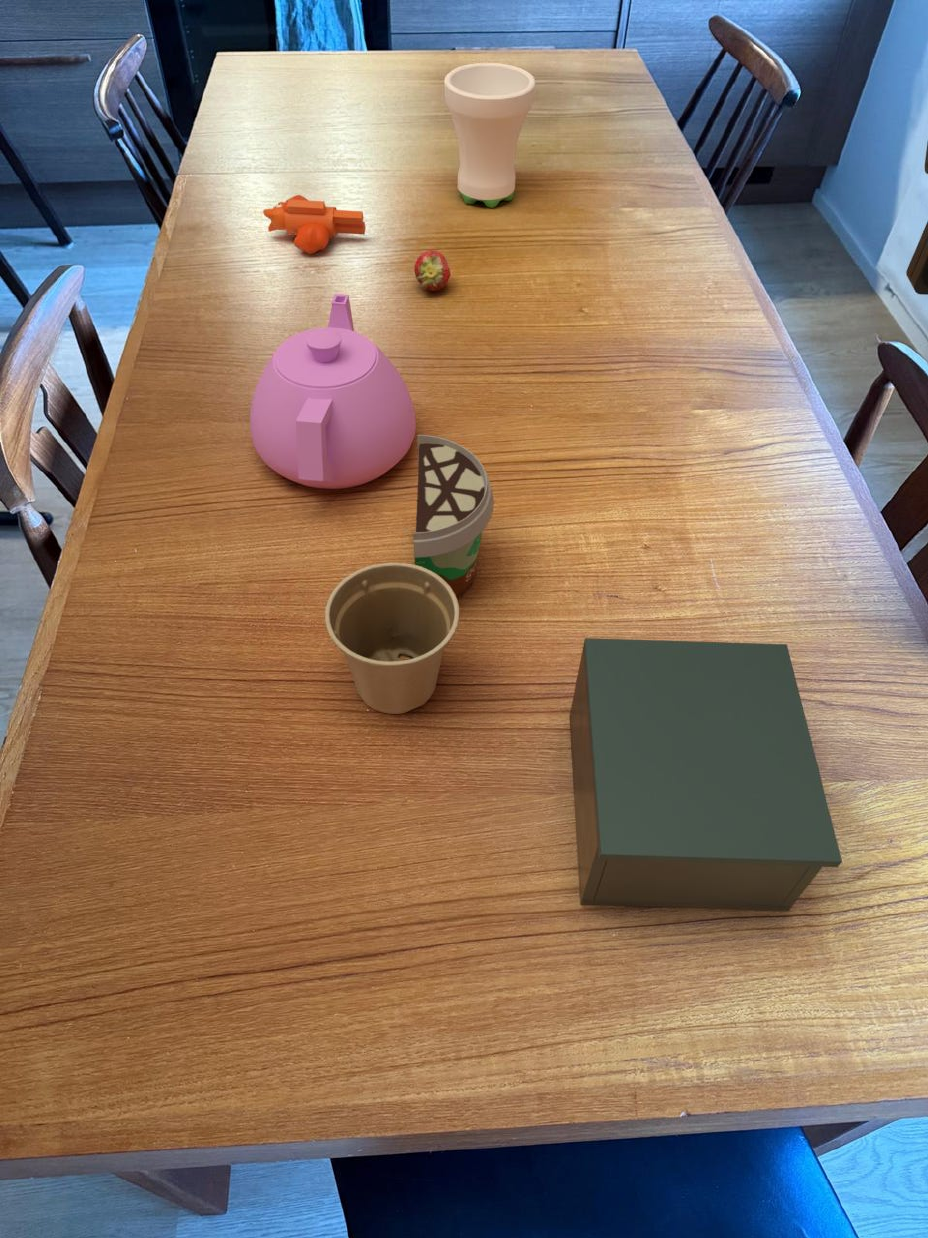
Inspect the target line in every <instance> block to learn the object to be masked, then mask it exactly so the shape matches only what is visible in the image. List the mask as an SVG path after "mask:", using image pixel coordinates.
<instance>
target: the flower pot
mask: <svg viewBox="0 0 928 1238" xmlns="http://www.w3.org/2000/svg"><path fill="white" fill-rule="evenodd" d="M459 604H460V603H459V601H458V599H457V598H456V596H455V593H454V592H453V590H452V588H451V587H450V586H449V585H448V584H447V583H446V582H445V580H443V579H442V578H441V577H440V576H438V575H437V574H436V573H434V572H432V571H430V570H428V569H426V568H423V567H421V566H417V565H415V564H414V563H408V562H407V563H406V562H397V561H396V562H395V561H390V562H384V563H379V562H378V563H375V564H370V565H367V566H364V567H362V568H360V569H357V570H355V571H353V572H351V573H350V574H348V575H347V576H346V577H344V578H343V579H341V581H340V582H339V583H338V584H337V585H336V587H334V589H333V590H332V591H331V593H330V595H329V597H328V599H327V601H326V604H325V608H324V623H325V627H326V630H327V633H328V635H329V637H330V639H331V641H332V642H333V643H334V645H335V646H336V647H337V648H338V649H339V650H340V651H341V652H342V654H343V655H344V657H345V660H346V663H347V665H348V668H349V671H350V674H351V677H352V679H353V683H354V685H355V690H356V691H357V693H358V695H359V697H360V699H362V701H363V702H364V703H365V705H366V706H368V707H369V708H371V709H372V710H375V711H377V712H380V713H383V714H389V715H400V714H406V713H408V712H410V711H412V710H414V709H417V708H418V707H421V706H424V705H425V704H426V703H427V702H428V701H429V700H430V698H431V697H432V696H433V694H434V692H435V690H436V686H437V682H438V676H439V672H440V667H441V663H442V659H443V655H444V651H445V649H446V647H447V646H448V644H449V643H450V641H451V640H452V638H453V637H454V635H455V633H456V631H457V629H458V626H459V622H460V605H459ZM400 655H404V656H407V657H409V659H404V658H401V657H400V658H399V656H400Z"/></svg>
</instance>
